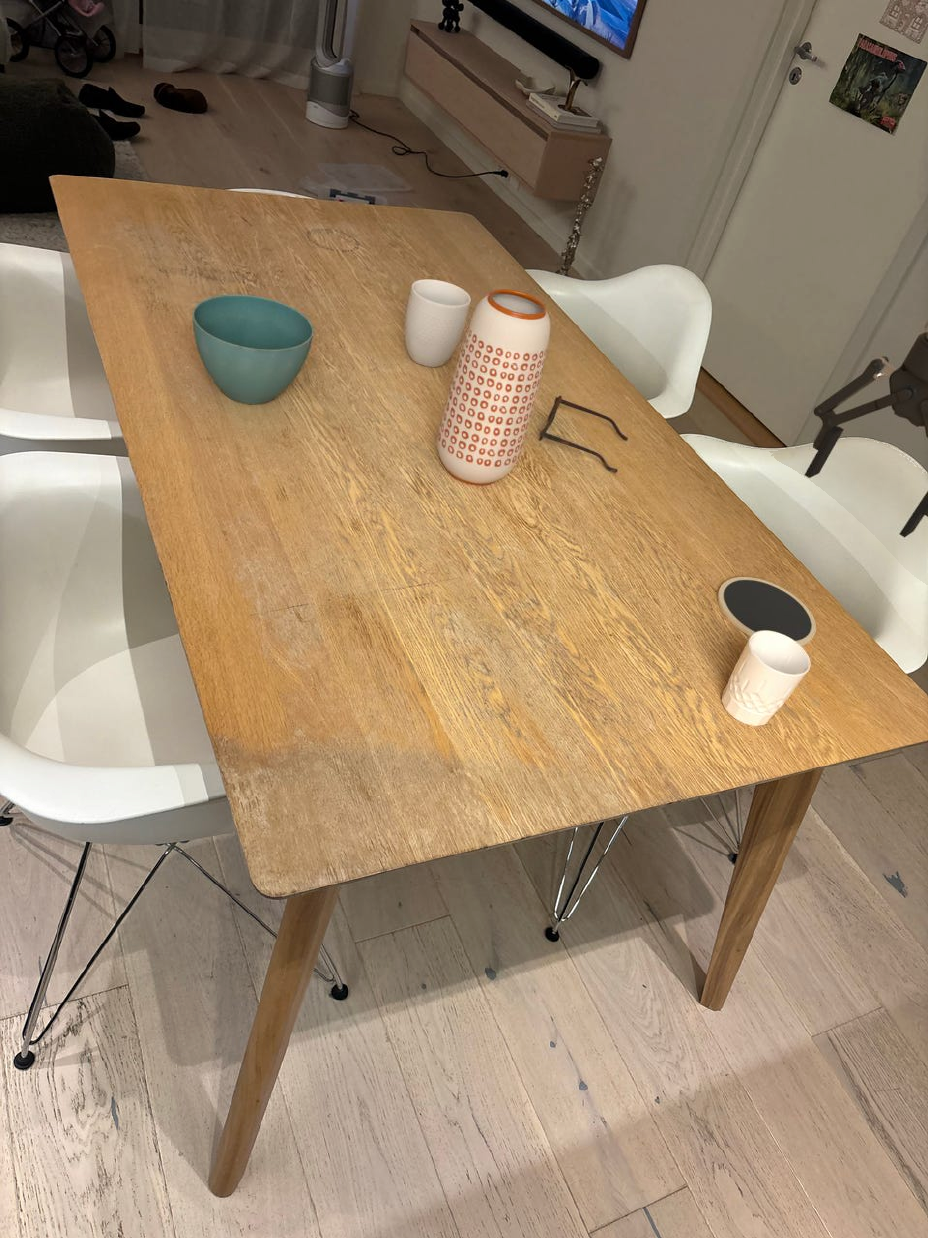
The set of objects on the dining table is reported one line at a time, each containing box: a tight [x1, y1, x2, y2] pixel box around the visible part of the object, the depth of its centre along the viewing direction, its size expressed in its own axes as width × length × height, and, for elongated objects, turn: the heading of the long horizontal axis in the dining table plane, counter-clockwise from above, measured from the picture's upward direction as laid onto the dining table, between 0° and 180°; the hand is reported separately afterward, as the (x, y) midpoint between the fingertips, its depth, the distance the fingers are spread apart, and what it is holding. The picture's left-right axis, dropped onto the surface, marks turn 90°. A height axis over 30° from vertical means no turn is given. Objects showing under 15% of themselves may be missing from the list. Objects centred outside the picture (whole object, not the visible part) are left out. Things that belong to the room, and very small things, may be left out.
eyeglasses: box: [538, 395, 629, 473], centre depth 160 cm, size 15×15×5 cm
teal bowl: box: [192, 294, 315, 405], centre depth 145 cm, size 18×18×12 cm
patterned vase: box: [436, 288, 552, 486], centre depth 138 cm, size 13×13×28 cm
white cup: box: [721, 630, 812, 727], centre depth 115 cm, size 8×8×10 cm
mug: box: [404, 278, 472, 368], centre depth 170 cm, size 15×11×13 cm
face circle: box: [717, 576, 817, 647], centre depth 135 cm, size 15×15×1 cm
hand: (857, 503), depth 114 cm, fingers open, 13 cm apart
